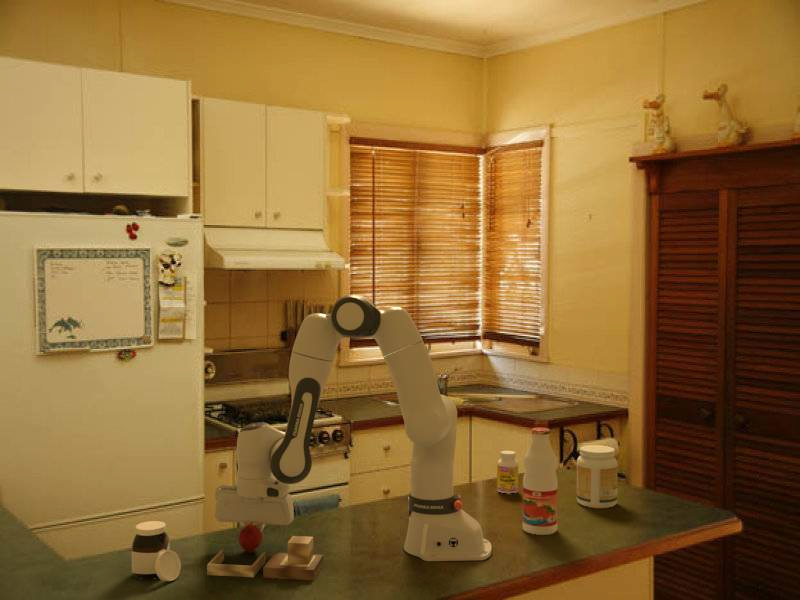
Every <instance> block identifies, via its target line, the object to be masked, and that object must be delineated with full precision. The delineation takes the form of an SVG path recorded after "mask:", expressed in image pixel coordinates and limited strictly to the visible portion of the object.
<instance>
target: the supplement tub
mask: <svg viewBox="0 0 800 600" xmlns="http://www.w3.org/2000/svg"><path fill="white" fill-rule="evenodd" d="M615 451H616V450H615V448H614V447H611V446H607V445H601V444H600V445H599V444H589V445H583V446H580V447H579V456H578V457H577V459H576V500H577V503H578V504H579V505H581V506H583V507H586V506H587V507H586V508H592V509H609V507H610V508H612V507H614V506H616V504H618V467H619V466H618V465H619V463H618V460H617V459H616V457H615V456H616V453H615Z"/></svg>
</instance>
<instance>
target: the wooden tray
mask: <svg viewBox="0 0 800 600" xmlns="http://www.w3.org/2000/svg"><path fill="white" fill-rule="evenodd" d="M266 554H267V553H266V551H262V553H261V554H260V555H259V556H258V557H257V559H256V560H255V561H254V562H253V563H252V564H251V565H247V564H246V565H245V564H244V565H242V564H227V563H226V564H223V562H224V561H225V549H221V550H220V551H219V552H218V553H217V554H216V555H215V556H214V557H213V558H212V559H211V560H210V561H209V562H208V563H207V564H206V575H207V576H218V577H219V576H222V577H223V576H224V577H243V578H254V577H255V576H256V575H257V574H258V572H259V571H260V570H261V569H263V571H262V572H263V575H262V577H263V579H275V578H278V580H279V579H280V580H298V581H299V580H301V581H313V582H314V581H315V579H316V577H317V575H319V573H320V571H321V570H322V569H323V568H322V567H323V566H324V554H314V553H313V558H312V560H311V562H310V563H309V565H304V564H288V552H274V553H273V554H272V556H271V557H270V559H268V561H266V560H267V559H266V556H267V555H266Z"/></svg>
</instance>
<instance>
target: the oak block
mask: <svg viewBox="0 0 800 600" xmlns="http://www.w3.org/2000/svg"><path fill="white" fill-rule="evenodd" d="M287 553H288V564H304V565H309V563H310V562H311V560H312V558H313V554H314V537H313V536H304V535H303V536H301V535H300V536H299V535H292V536H291V537H290V539H289V540H288V541H287Z"/></svg>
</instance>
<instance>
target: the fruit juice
mask: <svg viewBox="0 0 800 600" xmlns="http://www.w3.org/2000/svg"><path fill="white" fill-rule="evenodd" d="M550 434H551V430H550V429H549V428H547V427H533V428H531V436H532V439H531V442H530V443H529V447H528V449H527V451H526V453H525V455H524V457H523V467H524V469H525V470H524V474H523V478H522V529H523V532H526V533H528V534H531V535H535V534H536V535H535V536H547V535H548V536H549V535H553V534H554V533H556V532H557V530H558V496H559V495H558V487H559V486H558V477H557V474H556V470H557V467H558V457H557V455H556V454H555V452H554V450H553V447H552V444H551V441H550Z"/></svg>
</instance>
